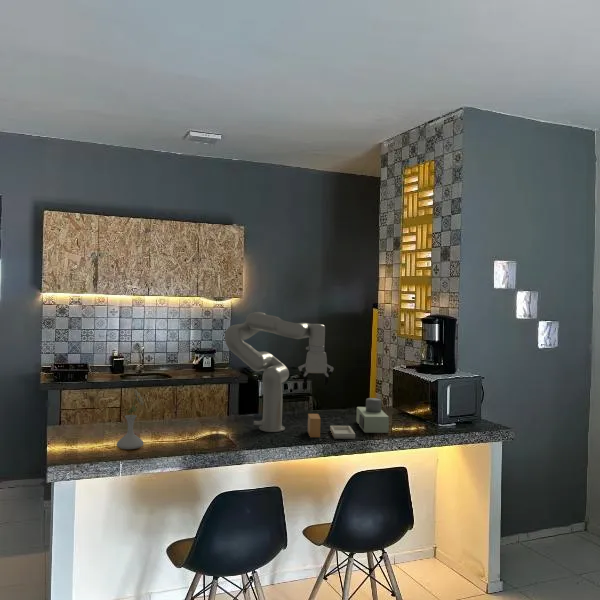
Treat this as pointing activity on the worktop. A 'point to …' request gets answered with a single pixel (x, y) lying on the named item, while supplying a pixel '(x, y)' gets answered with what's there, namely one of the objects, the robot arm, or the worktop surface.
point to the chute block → (314, 425)
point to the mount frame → (342, 432)
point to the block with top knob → (372, 417)
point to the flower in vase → (131, 429)
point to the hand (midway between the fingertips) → (315, 384)
